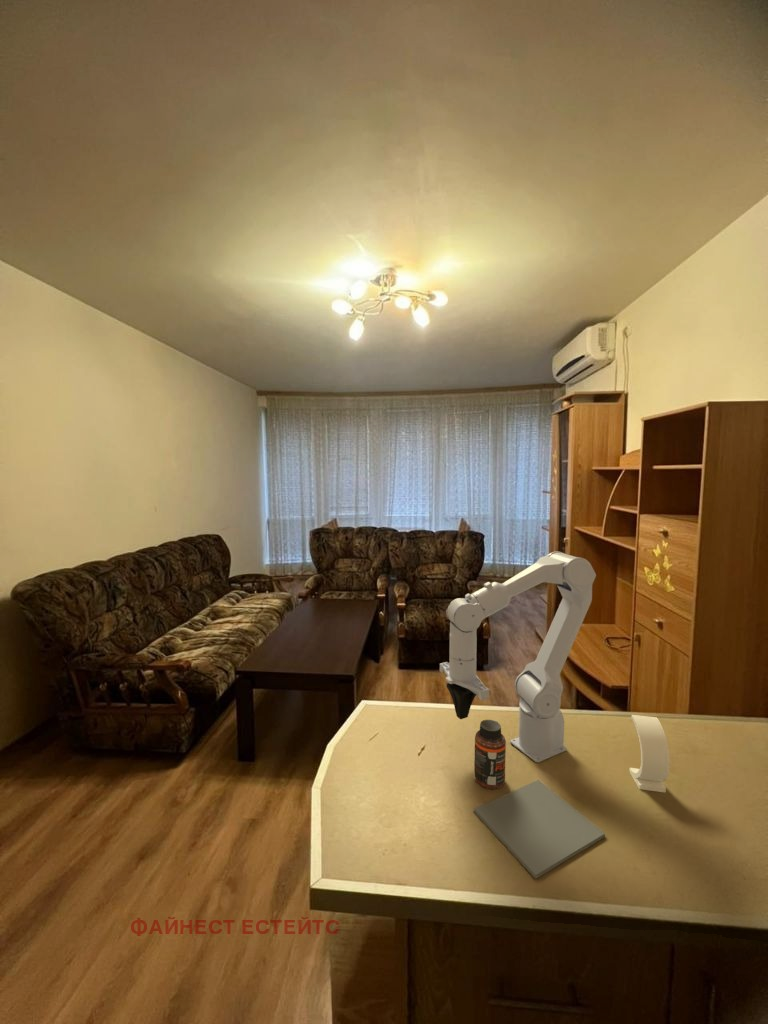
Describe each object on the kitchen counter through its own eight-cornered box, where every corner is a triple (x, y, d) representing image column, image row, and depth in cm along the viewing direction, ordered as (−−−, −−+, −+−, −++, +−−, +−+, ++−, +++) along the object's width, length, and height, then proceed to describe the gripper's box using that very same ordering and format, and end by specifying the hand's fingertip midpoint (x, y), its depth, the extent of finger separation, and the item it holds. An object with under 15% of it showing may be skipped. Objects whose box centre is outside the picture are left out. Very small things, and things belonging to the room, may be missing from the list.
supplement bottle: (500, 795, 77) (501, 737, 76) (469, 783, 80) (470, 727, 79) (508, 776, 82) (509, 722, 81) (479, 765, 85) (480, 713, 84)
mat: (538, 782, 80) (538, 779, 80) (604, 836, 68) (605, 833, 68) (474, 812, 73) (474, 808, 73) (535, 878, 60) (535, 875, 60)
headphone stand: (654, 774, 82) (656, 717, 82) (668, 796, 76) (671, 735, 76) (629, 771, 83) (631, 714, 82) (641, 793, 77) (643, 732, 77)
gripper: (428, 647, 92) (428, 705, 93) (469, 673, 79) (468, 740, 80) (453, 641, 95) (453, 697, 96) (497, 665, 82) (496, 730, 83)
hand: (462, 716), depth 88 cm, fingers closed
